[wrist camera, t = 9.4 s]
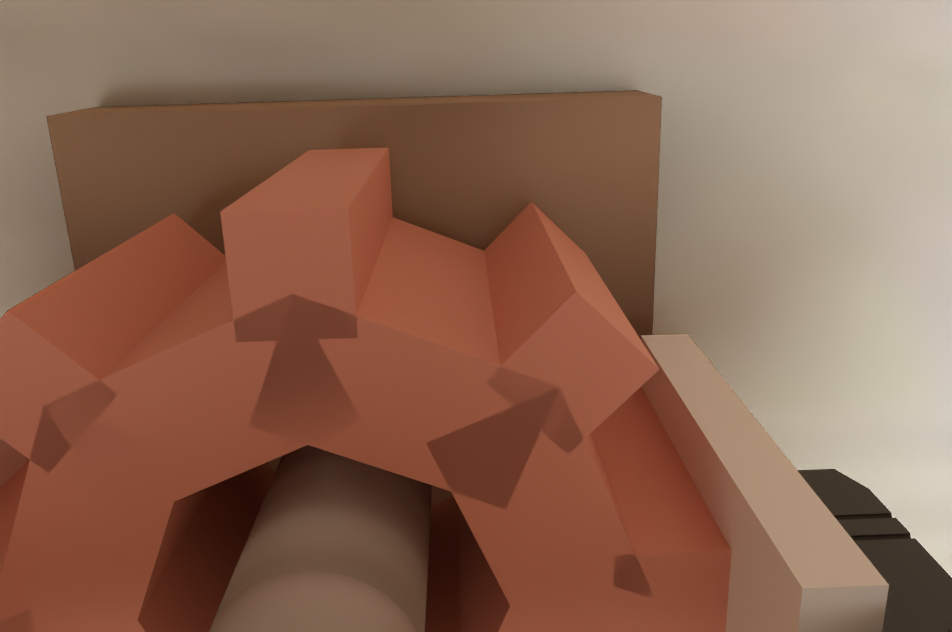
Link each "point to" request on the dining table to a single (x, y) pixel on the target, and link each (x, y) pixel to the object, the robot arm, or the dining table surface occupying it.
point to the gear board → (413, 201)
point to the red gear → (344, 417)
